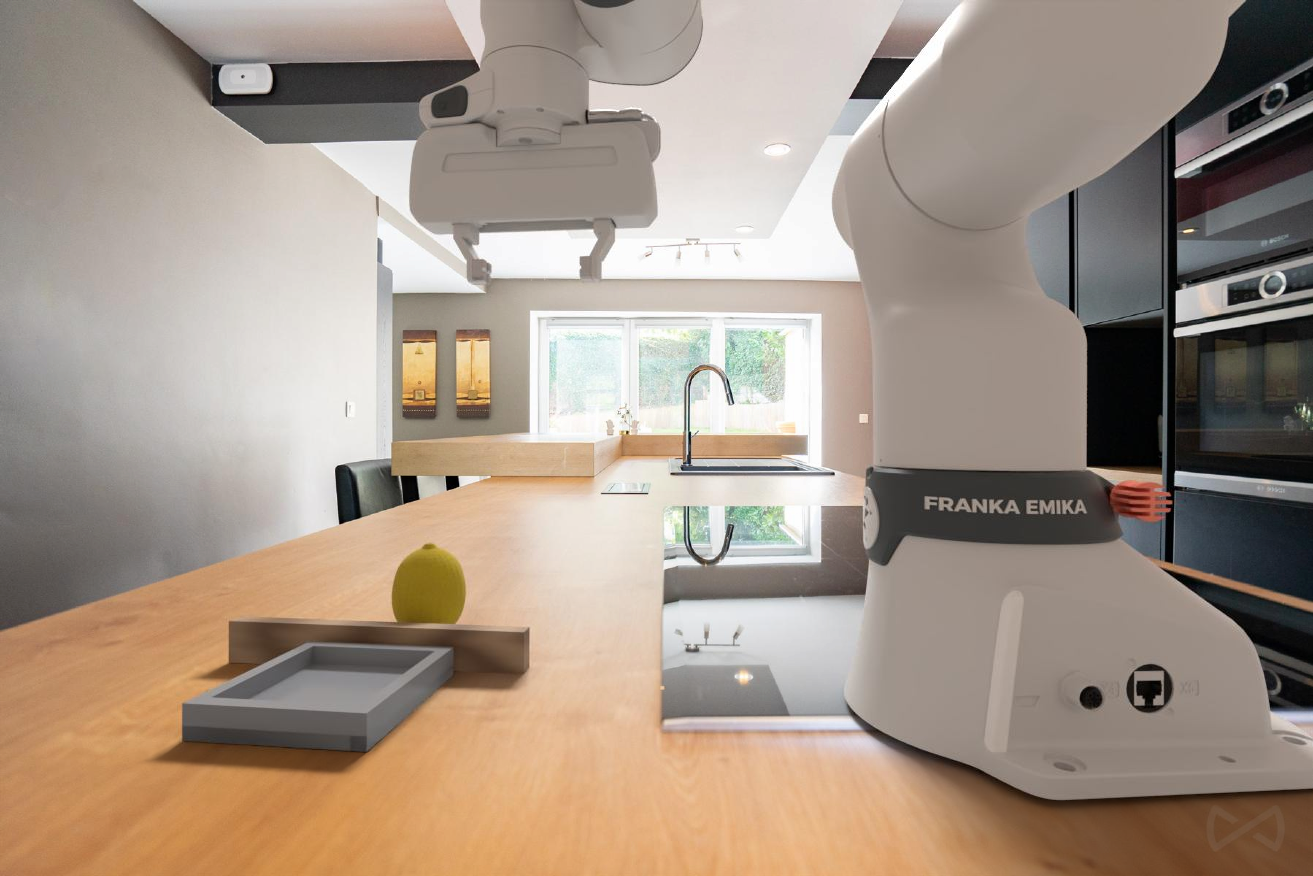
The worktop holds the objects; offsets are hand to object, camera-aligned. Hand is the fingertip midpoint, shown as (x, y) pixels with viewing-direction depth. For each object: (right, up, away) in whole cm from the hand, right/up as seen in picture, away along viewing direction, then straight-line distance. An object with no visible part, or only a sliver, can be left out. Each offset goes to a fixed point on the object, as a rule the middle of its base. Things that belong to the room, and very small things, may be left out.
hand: (534, 282), depth 52 cm
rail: (-10, -29, -7) cm, 31 cm away
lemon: (-8, -29, -2) cm, 30 cm away
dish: (-10, -29, -13) cm, 33 cm away
